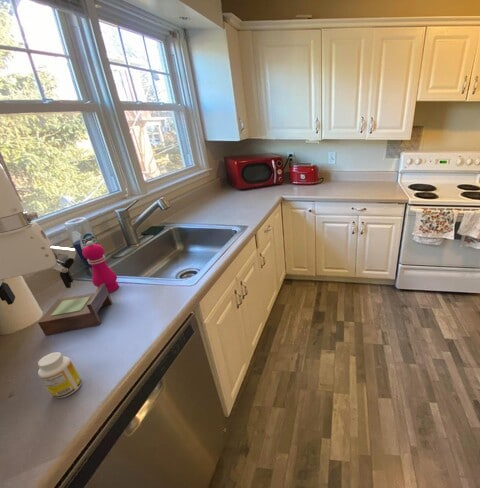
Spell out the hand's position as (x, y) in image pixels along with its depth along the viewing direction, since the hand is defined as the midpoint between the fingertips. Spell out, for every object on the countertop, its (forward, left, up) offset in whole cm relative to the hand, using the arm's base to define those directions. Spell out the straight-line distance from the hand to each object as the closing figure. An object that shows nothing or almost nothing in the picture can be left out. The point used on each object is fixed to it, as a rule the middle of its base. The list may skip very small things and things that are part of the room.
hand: (41, 293), depth 64 cm
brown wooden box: (-8, +23, -23) cm, 34 cm away
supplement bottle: (0, -7, -24) cm, 25 cm away
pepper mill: (-5, +39, -24) cm, 46 cm away
